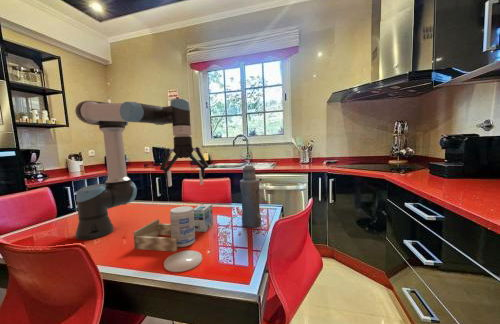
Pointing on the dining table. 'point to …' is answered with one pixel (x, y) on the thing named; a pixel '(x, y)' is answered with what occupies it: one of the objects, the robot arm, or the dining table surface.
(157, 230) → the shelf bay
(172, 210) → the supplement tub
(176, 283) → the dining table surface
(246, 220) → the bottle
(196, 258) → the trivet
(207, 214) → the light bulb box
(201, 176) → the robot arm
